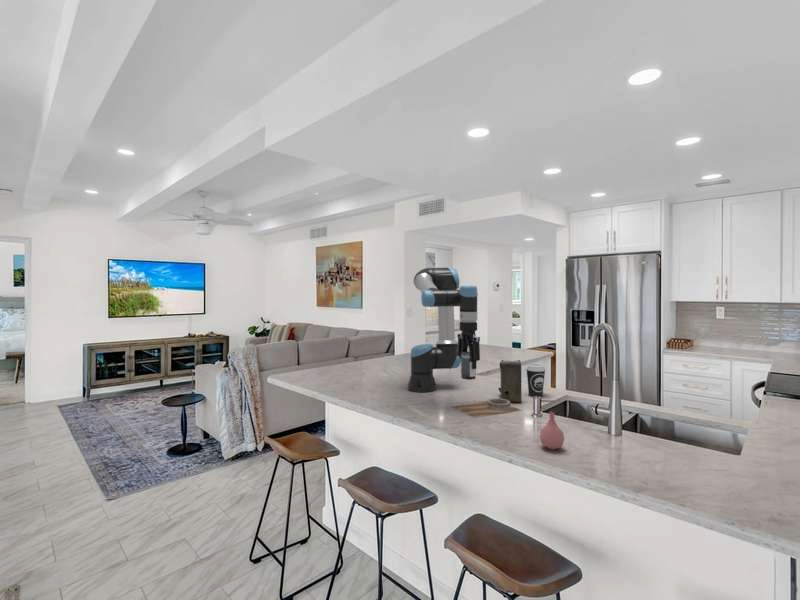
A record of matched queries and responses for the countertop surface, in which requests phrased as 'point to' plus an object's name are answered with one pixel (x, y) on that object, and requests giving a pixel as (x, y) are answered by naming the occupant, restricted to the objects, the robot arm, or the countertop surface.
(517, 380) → the vintage camera
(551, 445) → the perfume bottle
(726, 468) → the countertop surface
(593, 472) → the countertop surface
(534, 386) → the coffee cup
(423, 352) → the robot arm
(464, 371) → the lens
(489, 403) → the mount board
